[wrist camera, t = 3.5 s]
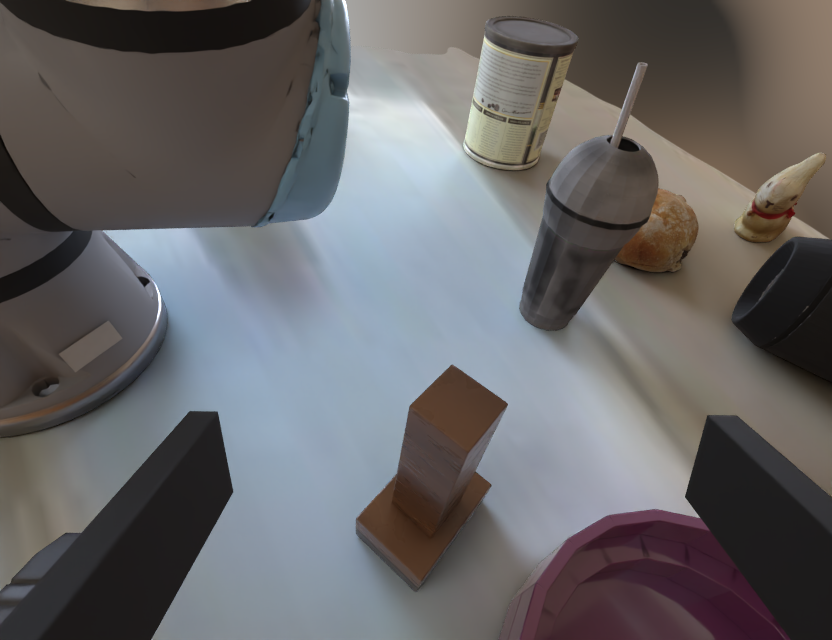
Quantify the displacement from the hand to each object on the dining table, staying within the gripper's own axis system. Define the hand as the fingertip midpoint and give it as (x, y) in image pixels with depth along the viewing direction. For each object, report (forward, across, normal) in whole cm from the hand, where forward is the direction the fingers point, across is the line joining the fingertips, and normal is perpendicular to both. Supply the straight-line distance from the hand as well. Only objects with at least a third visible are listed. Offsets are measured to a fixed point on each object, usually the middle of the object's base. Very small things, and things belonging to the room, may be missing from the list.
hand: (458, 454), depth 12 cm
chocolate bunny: (+44, +38, -2) cm, 58 cm away
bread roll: (+38, +21, -2) cm, 44 cm away
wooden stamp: (+10, -1, -12) cm, 16 cm away
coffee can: (+54, +9, +7) cm, 55 cm away
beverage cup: (+27, +10, -6) cm, 29 cm away
